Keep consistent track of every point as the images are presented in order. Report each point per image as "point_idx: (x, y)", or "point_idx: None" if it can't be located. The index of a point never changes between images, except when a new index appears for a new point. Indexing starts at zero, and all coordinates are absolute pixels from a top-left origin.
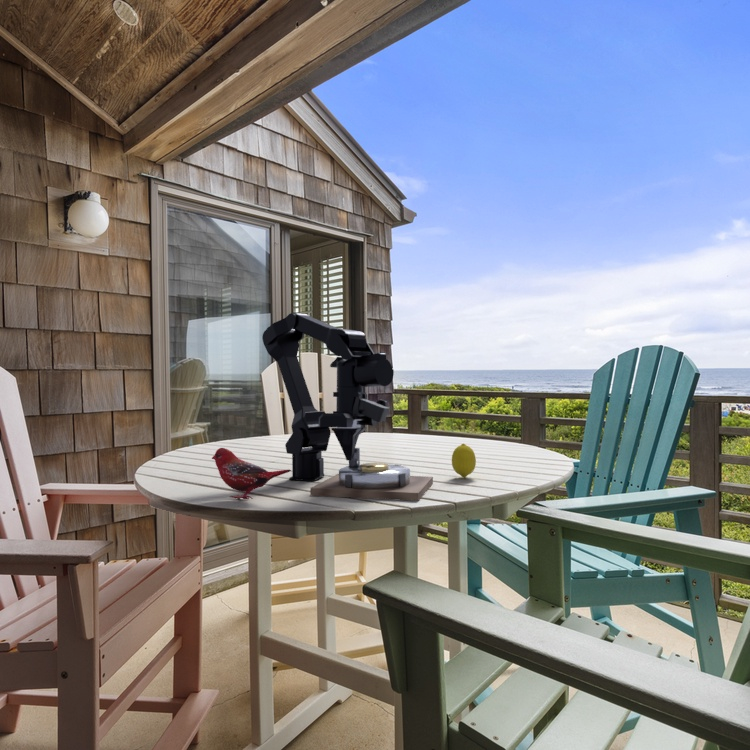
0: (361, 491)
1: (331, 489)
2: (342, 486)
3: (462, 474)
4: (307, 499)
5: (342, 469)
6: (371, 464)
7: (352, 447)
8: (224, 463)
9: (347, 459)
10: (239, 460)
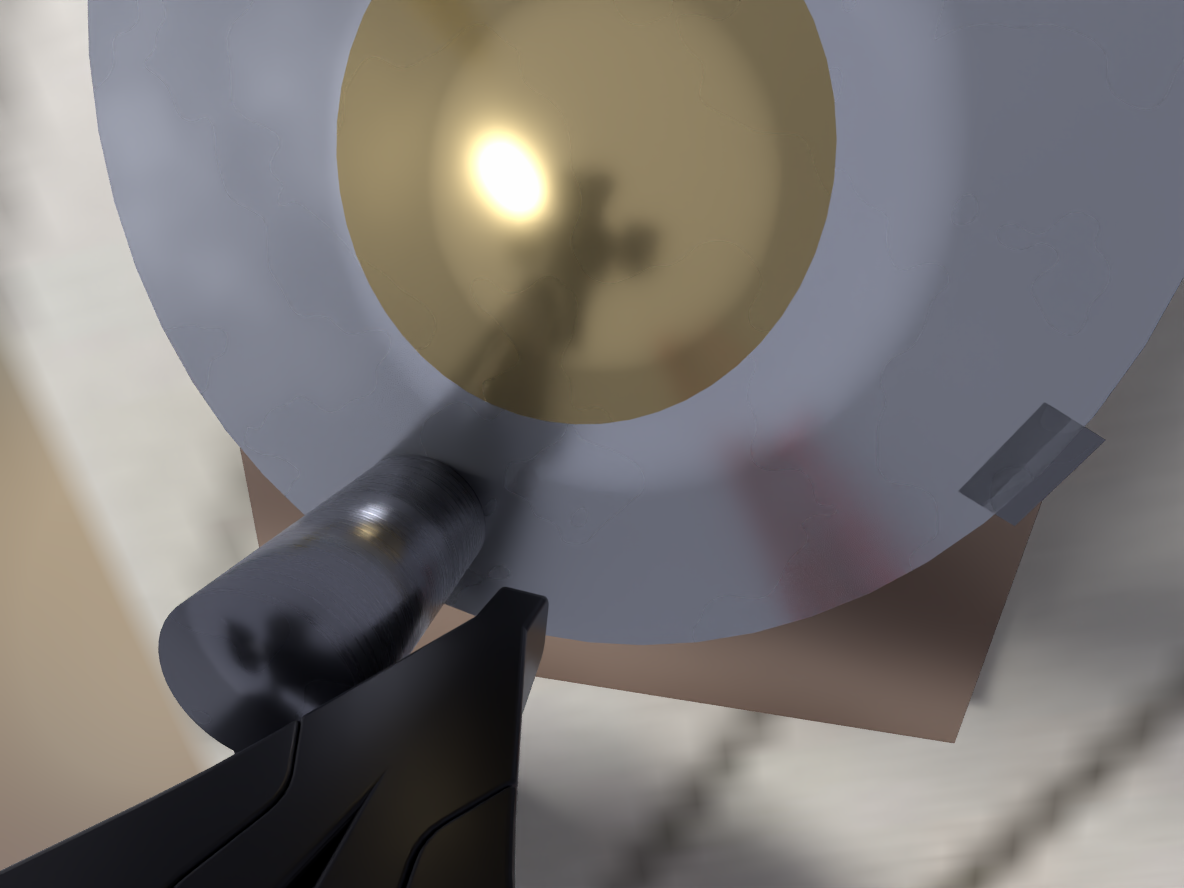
0: None
1: (1011, 571)
2: None
3: None
4: (1075, 690)
5: (626, 614)
6: (525, 252)
7: (514, 737)
8: None
9: (542, 645)
10: None
